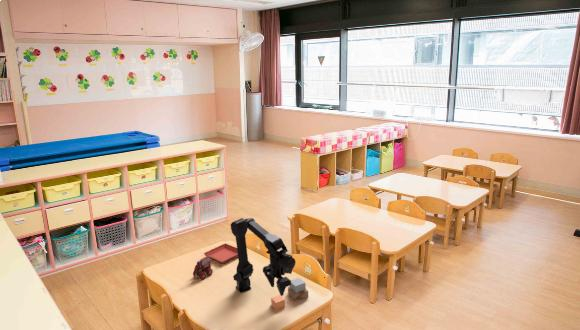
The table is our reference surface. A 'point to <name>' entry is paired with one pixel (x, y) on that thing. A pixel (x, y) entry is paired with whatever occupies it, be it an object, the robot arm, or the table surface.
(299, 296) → the walnut base
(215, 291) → the table surface
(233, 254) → the red square tray
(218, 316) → the table surface
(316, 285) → the table surface
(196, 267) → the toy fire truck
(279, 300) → the terracotta block
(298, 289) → the grey block
